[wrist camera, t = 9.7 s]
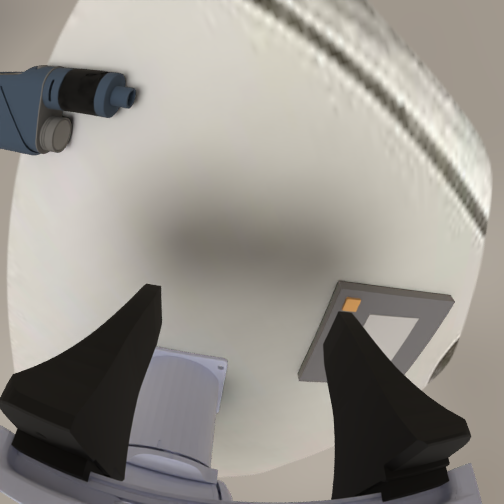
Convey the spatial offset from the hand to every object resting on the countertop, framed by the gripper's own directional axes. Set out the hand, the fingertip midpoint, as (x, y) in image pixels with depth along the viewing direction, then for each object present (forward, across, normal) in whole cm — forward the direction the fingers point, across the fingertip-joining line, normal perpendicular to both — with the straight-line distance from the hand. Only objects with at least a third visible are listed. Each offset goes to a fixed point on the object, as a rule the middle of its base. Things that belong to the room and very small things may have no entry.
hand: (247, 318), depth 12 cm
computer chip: (+6, -11, +7) cm, 15 cm away
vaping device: (+5, +19, -8) cm, 21 cm away
